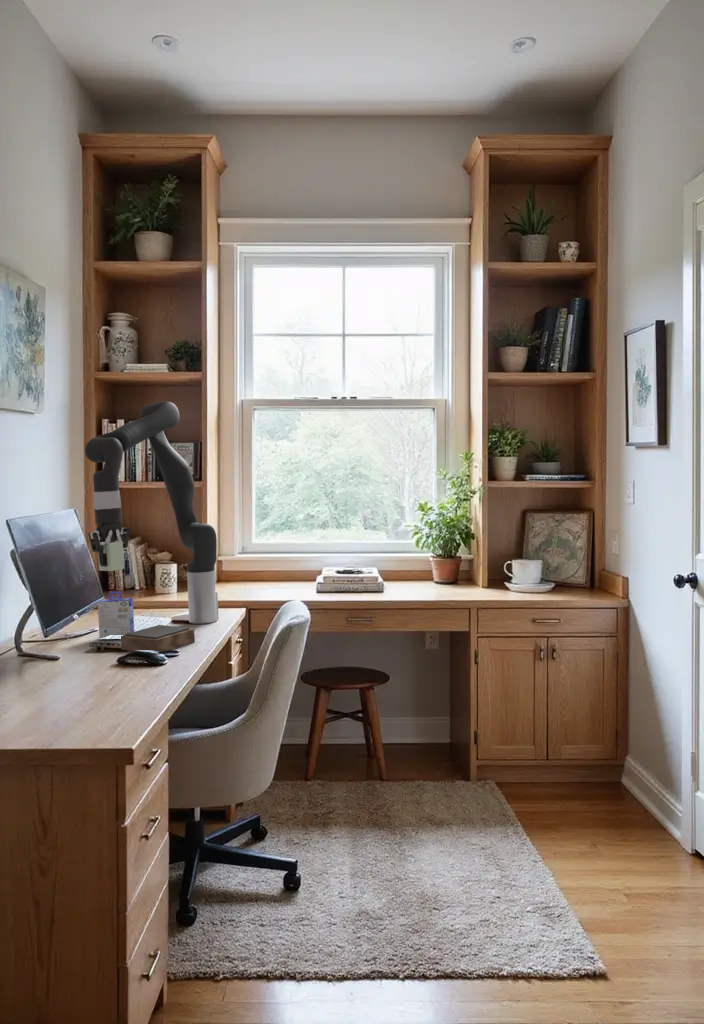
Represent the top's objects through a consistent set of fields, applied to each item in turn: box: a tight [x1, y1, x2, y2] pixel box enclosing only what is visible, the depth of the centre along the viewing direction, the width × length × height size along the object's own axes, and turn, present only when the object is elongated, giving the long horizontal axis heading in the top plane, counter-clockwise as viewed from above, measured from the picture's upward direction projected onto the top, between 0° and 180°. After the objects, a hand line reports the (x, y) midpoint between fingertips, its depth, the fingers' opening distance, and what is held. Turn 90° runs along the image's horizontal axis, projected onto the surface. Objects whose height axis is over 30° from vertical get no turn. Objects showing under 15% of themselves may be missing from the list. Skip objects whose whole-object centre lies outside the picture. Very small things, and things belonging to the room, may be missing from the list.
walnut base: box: [120, 624, 196, 653], centre depth 243 cm, size 16×14×4 cm
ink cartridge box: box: [97, 590, 135, 638], centre depth 255 cm, size 10×6×14 cm, turn 92°
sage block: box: [97, 541, 125, 572], centre depth 240 cm, size 5×5×8 cm
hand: (111, 564), depth 240 cm, fingers closed on sage block, 5 cm apart
